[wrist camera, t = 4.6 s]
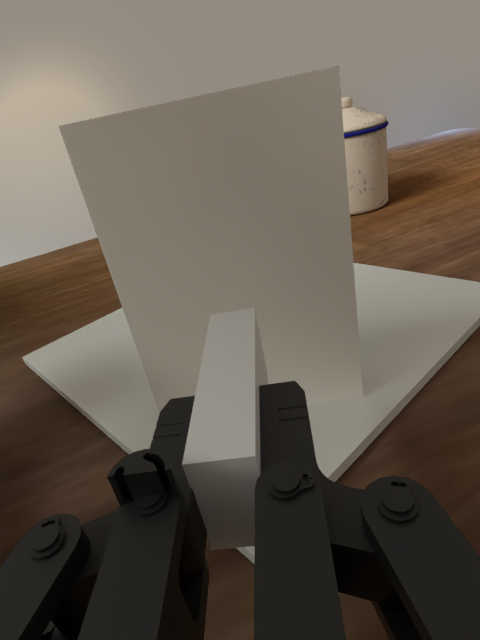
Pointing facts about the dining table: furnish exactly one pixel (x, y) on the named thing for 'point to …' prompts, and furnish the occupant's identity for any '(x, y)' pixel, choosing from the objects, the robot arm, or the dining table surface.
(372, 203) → the teacup with lid
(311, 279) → the tile
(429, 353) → the mat
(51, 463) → the dining table surface
